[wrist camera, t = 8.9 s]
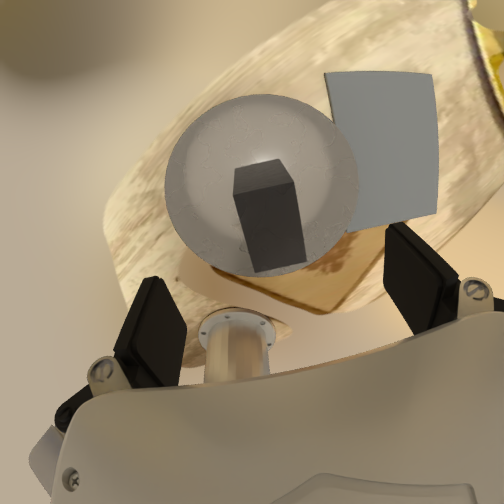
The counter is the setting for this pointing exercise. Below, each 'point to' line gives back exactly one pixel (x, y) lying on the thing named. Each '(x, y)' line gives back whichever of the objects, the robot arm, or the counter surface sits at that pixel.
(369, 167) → the mat
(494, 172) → the counter surface
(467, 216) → the counter surface
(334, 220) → the lid
